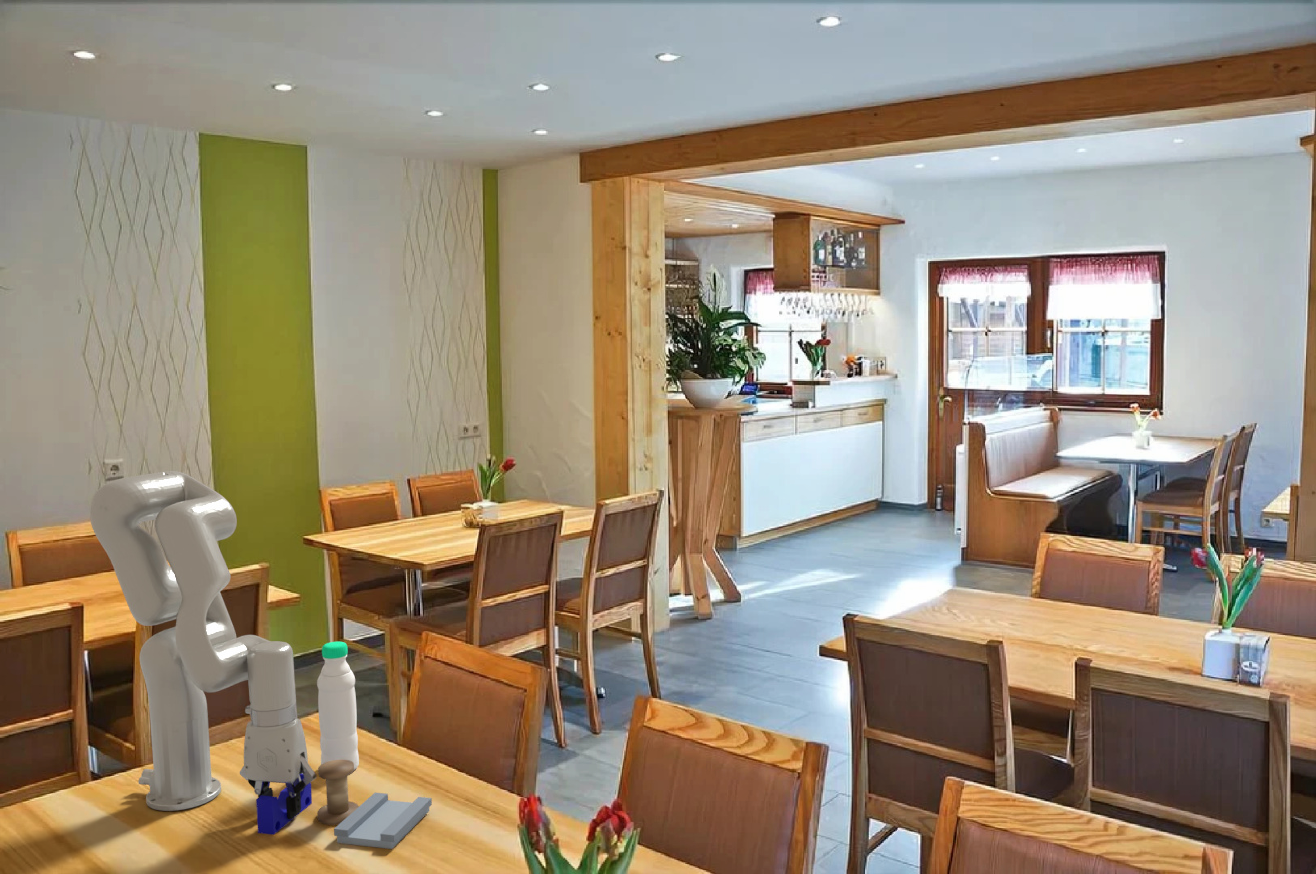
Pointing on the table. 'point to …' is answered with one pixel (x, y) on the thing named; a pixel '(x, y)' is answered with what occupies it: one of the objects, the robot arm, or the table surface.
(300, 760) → the robot arm
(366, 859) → the table surface
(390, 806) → the notched board
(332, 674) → the water bottle
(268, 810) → the cable clip
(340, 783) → the door knob
